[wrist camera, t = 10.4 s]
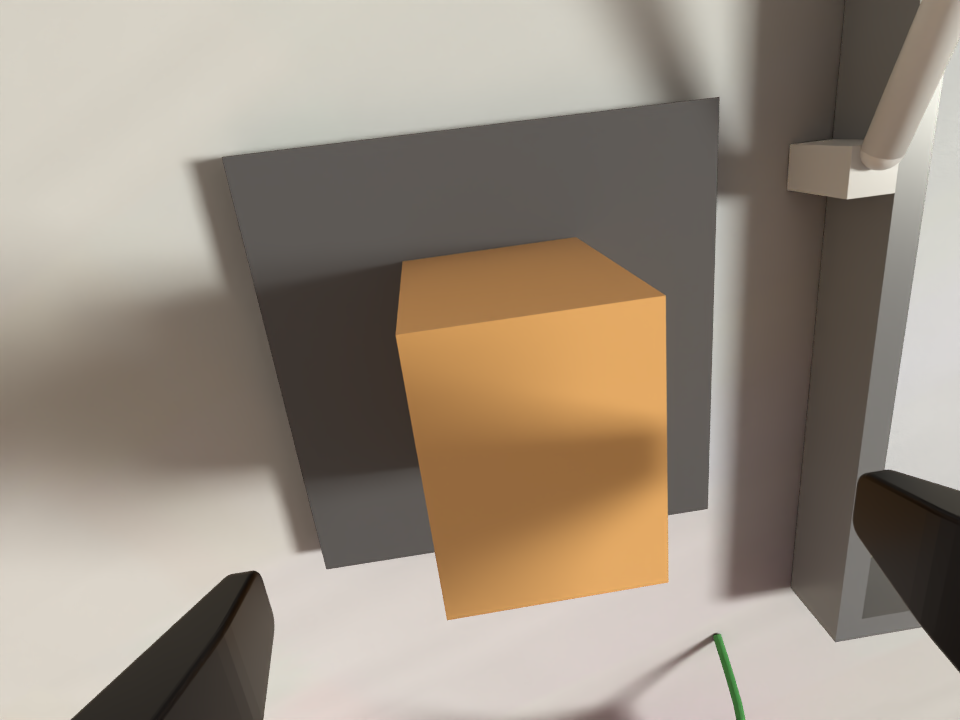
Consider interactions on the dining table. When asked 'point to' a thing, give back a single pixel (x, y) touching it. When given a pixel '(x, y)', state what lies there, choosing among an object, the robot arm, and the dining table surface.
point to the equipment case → (864, 292)
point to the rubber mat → (452, 230)
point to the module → (537, 422)
